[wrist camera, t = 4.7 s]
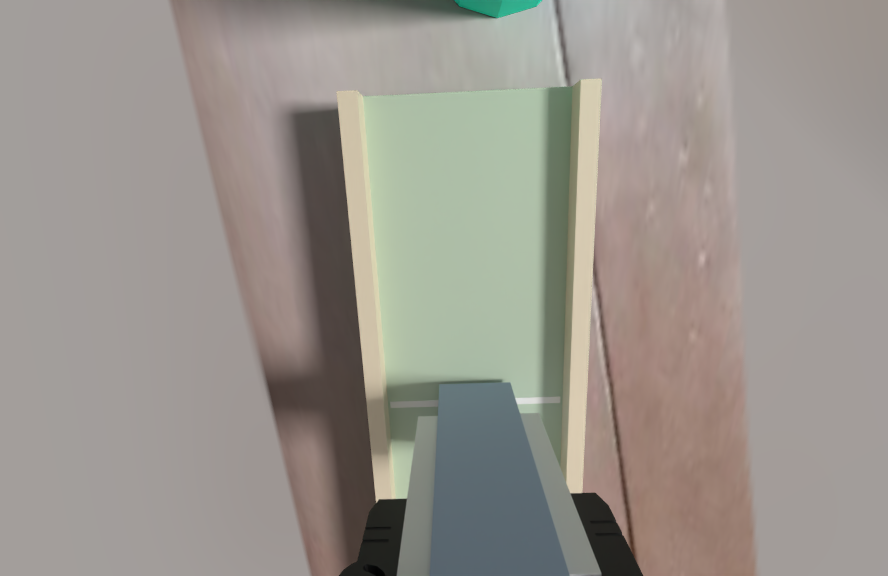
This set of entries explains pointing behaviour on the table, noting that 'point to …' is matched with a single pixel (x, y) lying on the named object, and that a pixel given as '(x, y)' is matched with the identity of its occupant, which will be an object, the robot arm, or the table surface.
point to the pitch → (472, 257)
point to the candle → (497, 6)
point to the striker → (488, 490)
